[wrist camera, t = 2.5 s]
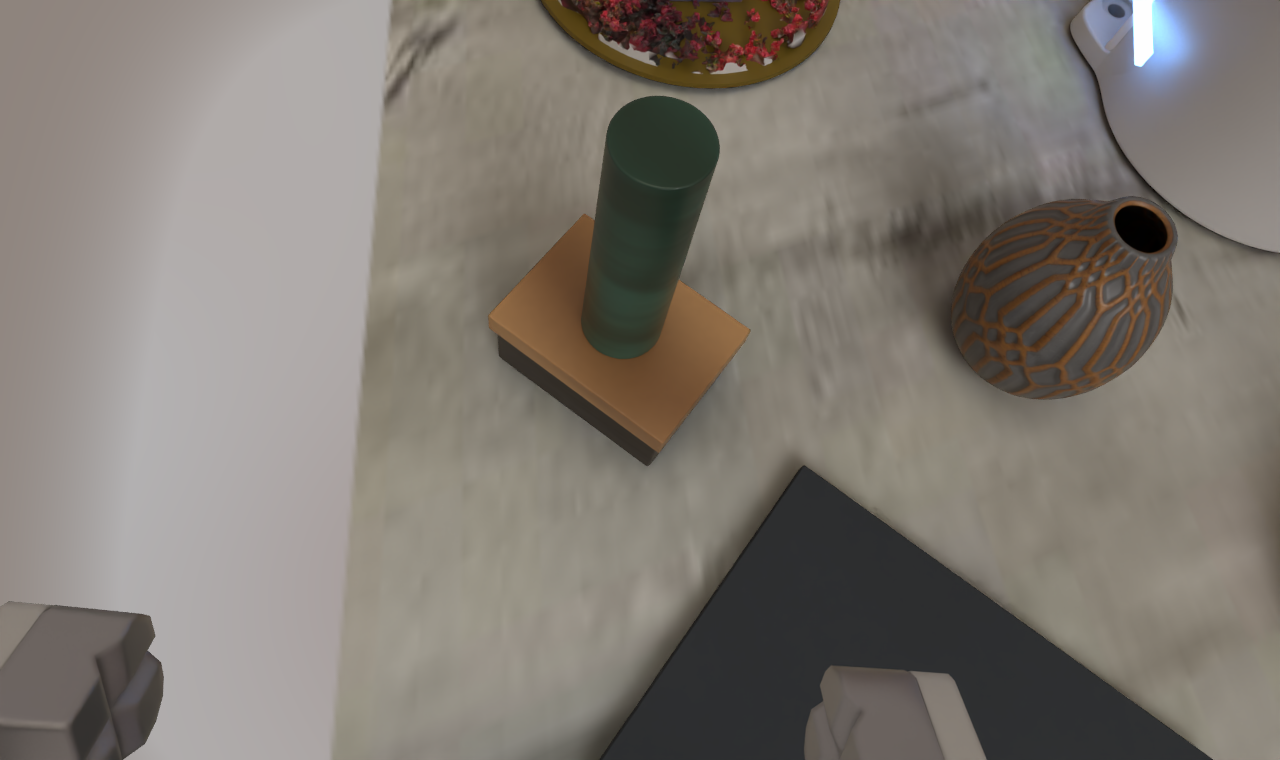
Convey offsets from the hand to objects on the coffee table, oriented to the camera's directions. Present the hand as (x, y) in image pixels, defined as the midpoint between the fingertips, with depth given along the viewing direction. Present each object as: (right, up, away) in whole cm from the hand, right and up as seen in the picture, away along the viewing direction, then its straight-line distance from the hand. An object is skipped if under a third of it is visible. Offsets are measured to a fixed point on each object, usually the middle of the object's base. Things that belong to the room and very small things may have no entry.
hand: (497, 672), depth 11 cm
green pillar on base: (+1, +4, +23) cm, 24 cm away
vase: (+17, +5, +26) cm, 31 cm away
